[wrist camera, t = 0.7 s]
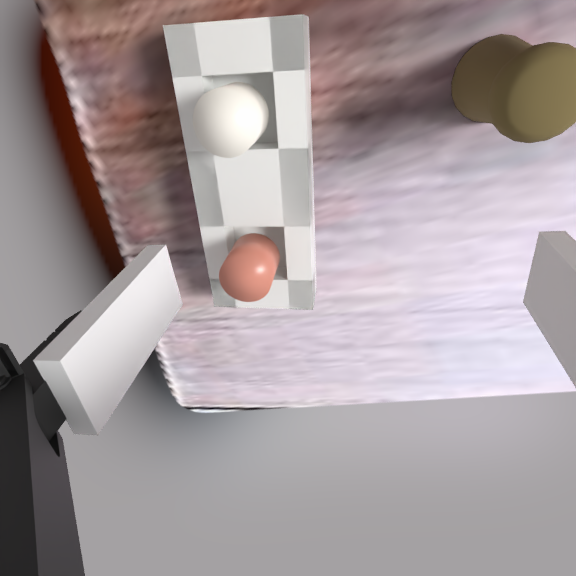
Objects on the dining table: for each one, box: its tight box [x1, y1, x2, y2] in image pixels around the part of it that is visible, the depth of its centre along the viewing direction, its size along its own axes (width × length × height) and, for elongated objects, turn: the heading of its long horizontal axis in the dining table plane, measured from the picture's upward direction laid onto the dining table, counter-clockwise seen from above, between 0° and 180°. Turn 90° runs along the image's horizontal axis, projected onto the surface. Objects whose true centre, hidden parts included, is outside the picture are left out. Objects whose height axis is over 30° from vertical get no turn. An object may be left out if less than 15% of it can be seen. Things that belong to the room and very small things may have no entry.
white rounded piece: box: [193, 82, 269, 158], centre depth 29 cm, size 4×4×4 cm
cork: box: [452, 34, 576, 143], centre depth 27 cm, size 6×6×11 cm
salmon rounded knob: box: [219, 233, 280, 302], centre depth 35 cm, size 4×4×4 cm
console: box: [163, 14, 316, 310], centre depth 36 cm, size 24×10×4 cm, turn 3°
